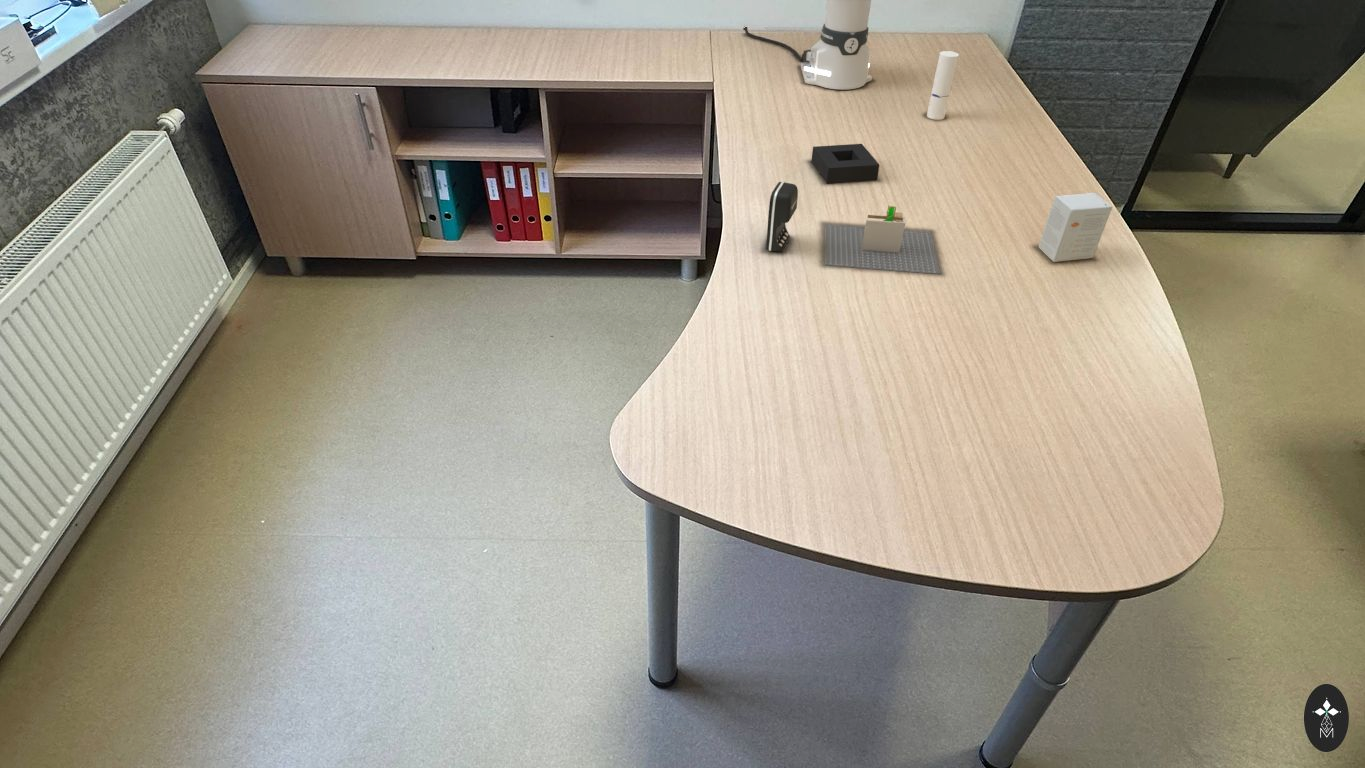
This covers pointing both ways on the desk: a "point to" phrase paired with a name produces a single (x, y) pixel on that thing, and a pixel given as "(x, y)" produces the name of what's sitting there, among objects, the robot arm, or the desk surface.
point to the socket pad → (845, 163)
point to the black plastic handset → (780, 215)
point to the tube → (942, 85)
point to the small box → (1074, 226)
